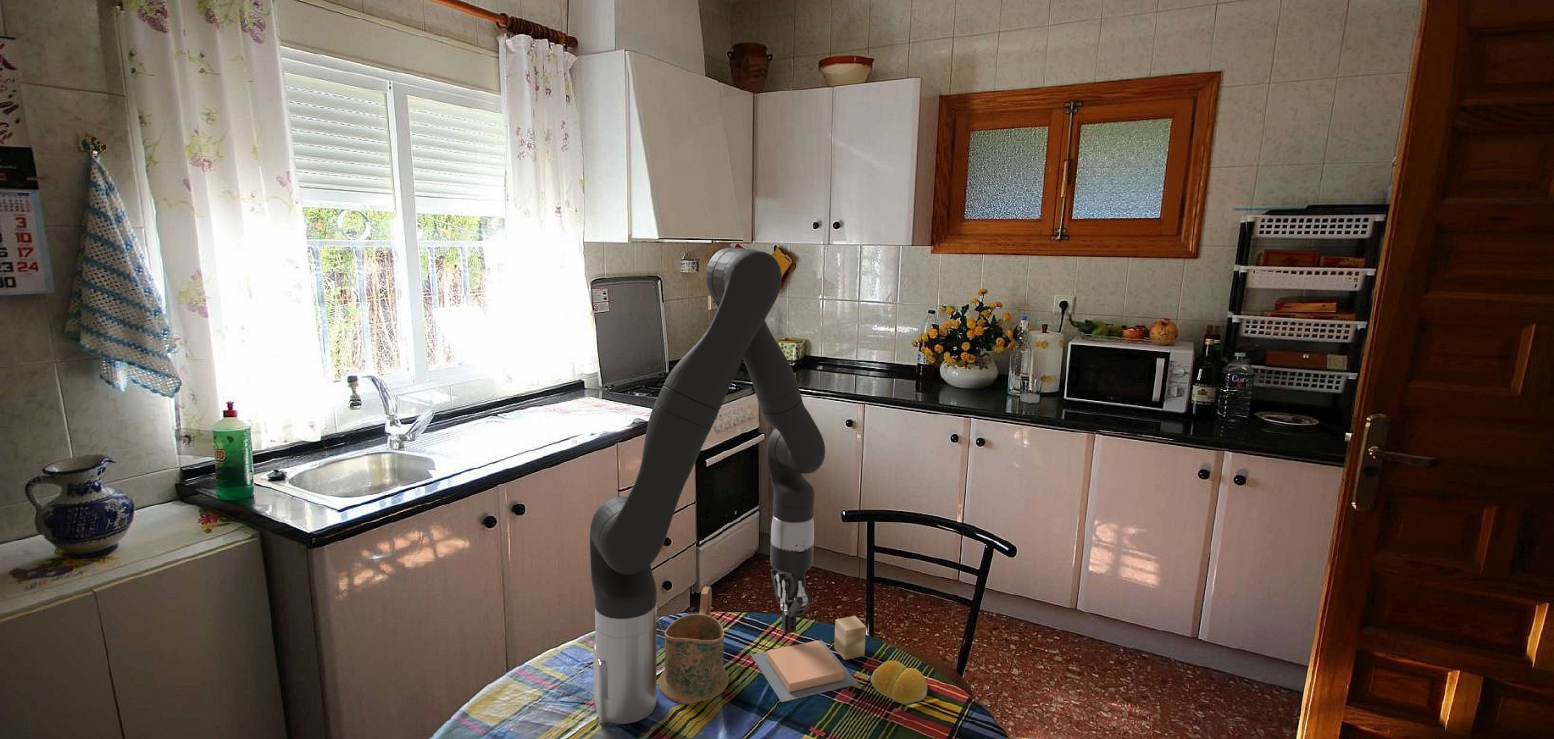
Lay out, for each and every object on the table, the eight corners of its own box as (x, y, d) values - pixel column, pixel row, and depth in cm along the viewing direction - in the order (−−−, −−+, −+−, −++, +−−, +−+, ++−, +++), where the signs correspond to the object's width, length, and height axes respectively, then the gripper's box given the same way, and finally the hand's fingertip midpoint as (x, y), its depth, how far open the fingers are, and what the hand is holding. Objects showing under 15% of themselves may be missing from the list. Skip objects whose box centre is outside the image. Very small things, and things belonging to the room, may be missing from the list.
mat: (781, 704, 113) (781, 701, 113) (750, 656, 126) (750, 654, 126) (858, 685, 118) (858, 683, 118) (821, 642, 131) (821, 640, 131)
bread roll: (913, 713, 112) (915, 690, 112) (864, 690, 118) (865, 669, 117) (936, 688, 119) (937, 666, 118) (888, 668, 124) (889, 647, 123)
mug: (739, 645, 129) (740, 584, 127) (722, 707, 112) (723, 637, 110) (676, 640, 130) (677, 579, 128) (650, 700, 113) (650, 631, 111)
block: (844, 662, 125) (845, 630, 124) (834, 650, 129) (835, 619, 128) (864, 657, 127) (866, 626, 126) (853, 645, 130) (855, 615, 129)
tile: (766, 659, 124) (789, 693, 115) (766, 650, 124) (789, 683, 115) (817, 649, 128) (843, 680, 119) (818, 640, 128) (844, 671, 119)
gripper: (758, 528, 129) (755, 616, 132) (788, 558, 117) (784, 654, 120) (795, 523, 132) (792, 609, 135) (828, 551, 120) (824, 646, 123)
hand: (788, 630), depth 127 cm, fingers closed
